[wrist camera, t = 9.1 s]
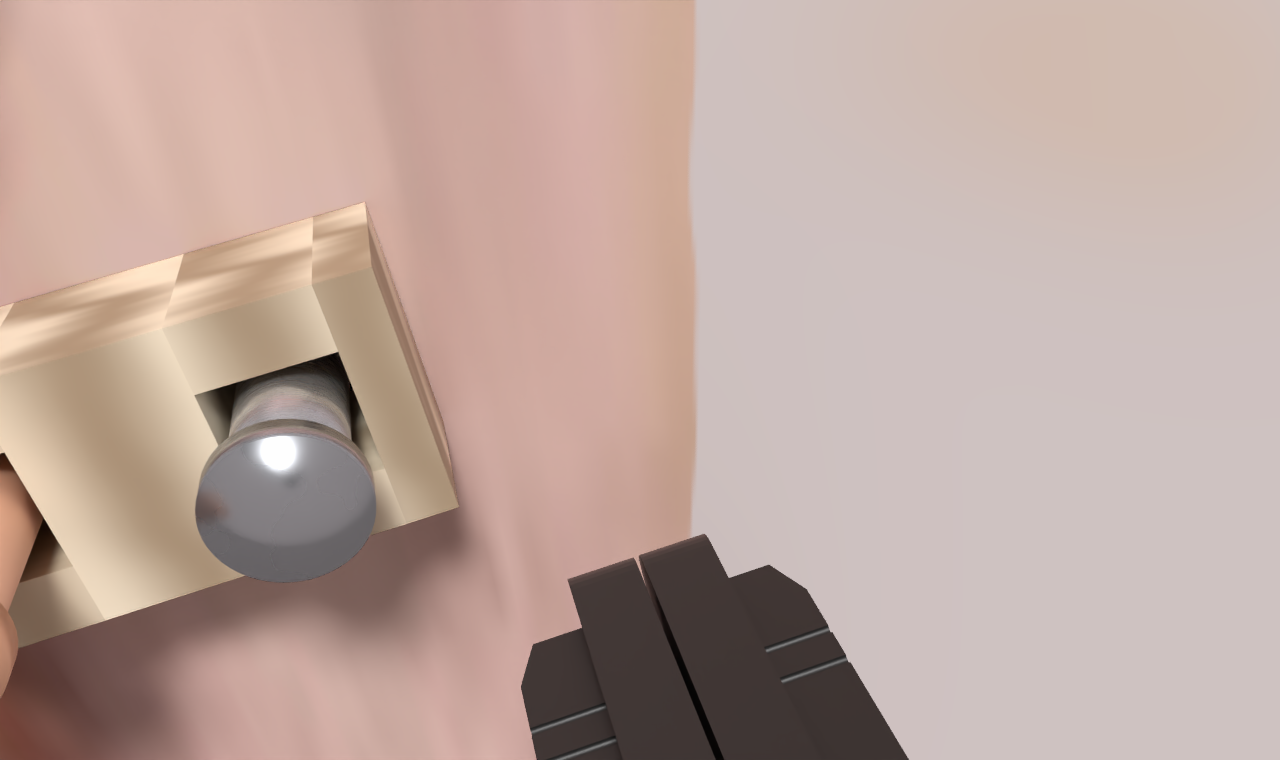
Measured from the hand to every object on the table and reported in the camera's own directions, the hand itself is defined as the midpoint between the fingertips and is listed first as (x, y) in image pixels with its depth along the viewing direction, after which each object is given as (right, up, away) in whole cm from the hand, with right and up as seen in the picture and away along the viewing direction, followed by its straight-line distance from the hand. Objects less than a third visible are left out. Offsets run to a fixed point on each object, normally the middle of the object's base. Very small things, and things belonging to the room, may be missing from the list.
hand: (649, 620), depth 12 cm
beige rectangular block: (-17, +2, +28) cm, 33 cm away
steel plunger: (-12, +3, +28) cm, 31 cm away
